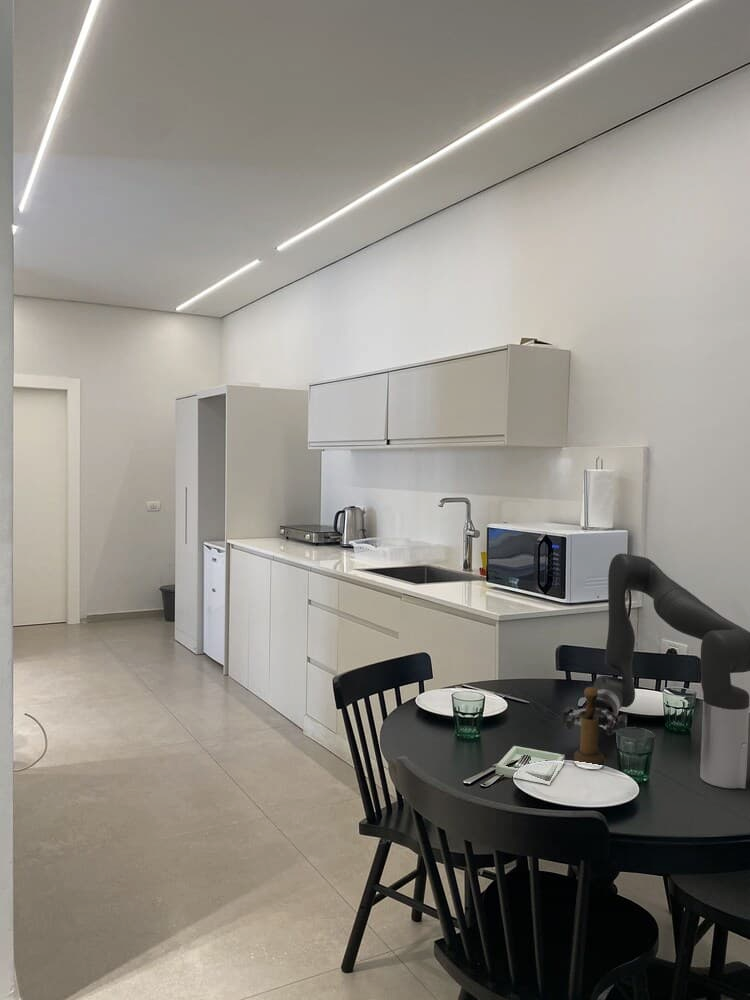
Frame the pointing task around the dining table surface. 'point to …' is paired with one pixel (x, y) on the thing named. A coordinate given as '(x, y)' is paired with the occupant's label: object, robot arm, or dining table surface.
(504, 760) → the tray
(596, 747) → the mortar and pestle
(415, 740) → the dining table surface
